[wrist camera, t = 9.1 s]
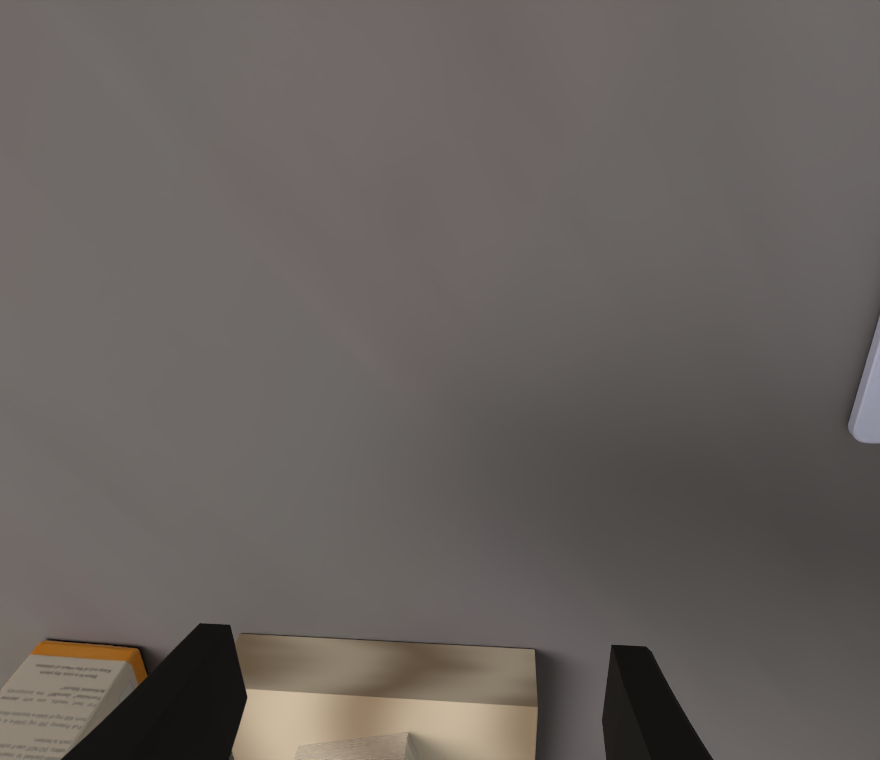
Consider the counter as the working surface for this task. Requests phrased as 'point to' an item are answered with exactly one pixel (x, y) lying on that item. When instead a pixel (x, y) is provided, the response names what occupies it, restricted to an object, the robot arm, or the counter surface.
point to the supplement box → (63, 696)
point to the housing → (362, 749)
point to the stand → (386, 696)
